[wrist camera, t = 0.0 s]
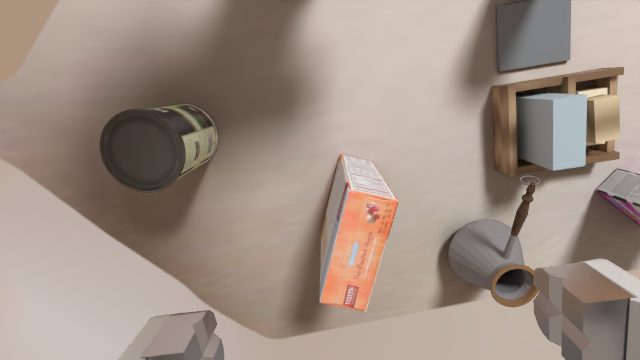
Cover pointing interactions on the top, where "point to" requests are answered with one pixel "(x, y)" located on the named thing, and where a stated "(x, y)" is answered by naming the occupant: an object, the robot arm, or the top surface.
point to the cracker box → (354, 233)
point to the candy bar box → (623, 192)
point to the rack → (557, 84)
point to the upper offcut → (602, 118)
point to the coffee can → (157, 145)
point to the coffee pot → (495, 256)
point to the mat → (533, 33)
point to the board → (552, 129)
